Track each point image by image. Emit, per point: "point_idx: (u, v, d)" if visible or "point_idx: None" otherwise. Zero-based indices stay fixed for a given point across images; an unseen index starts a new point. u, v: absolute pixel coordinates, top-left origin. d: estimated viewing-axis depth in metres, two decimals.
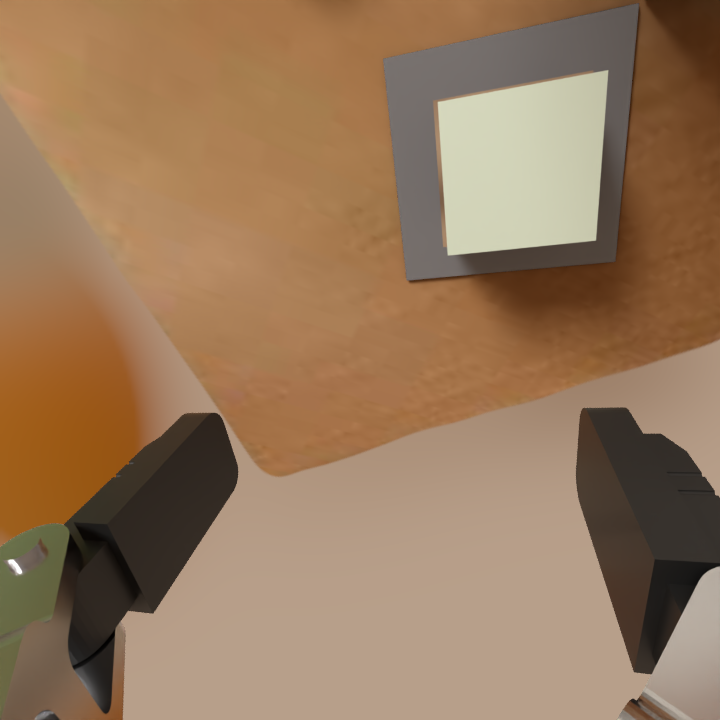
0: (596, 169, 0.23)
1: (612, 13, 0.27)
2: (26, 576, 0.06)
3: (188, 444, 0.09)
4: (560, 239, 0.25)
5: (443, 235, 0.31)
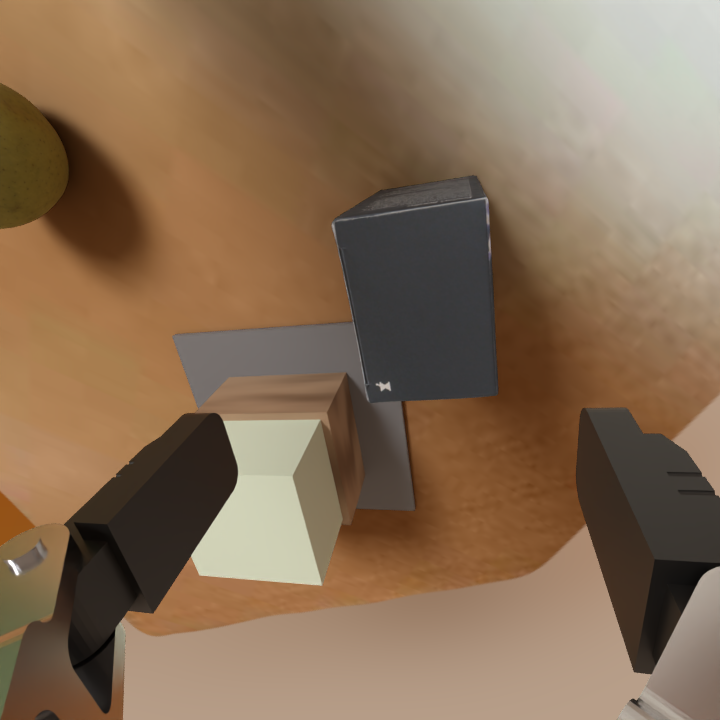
0: (305, 539, 0.24)
1: None
2: (26, 576, 0.06)
3: (188, 444, 0.09)
4: (291, 580, 0.26)
5: None
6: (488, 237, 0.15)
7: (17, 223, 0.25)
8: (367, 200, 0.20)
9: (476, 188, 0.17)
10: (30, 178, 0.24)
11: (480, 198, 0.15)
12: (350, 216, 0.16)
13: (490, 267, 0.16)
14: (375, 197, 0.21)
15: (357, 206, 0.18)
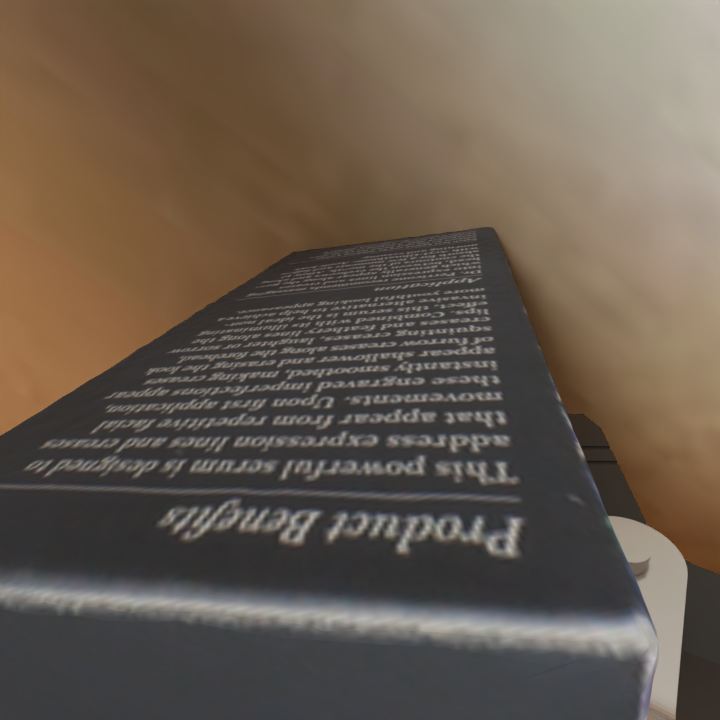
0: None
1: None
2: None
3: None
4: None
5: None
6: None
7: None
8: (205, 313, 0.07)
9: (515, 343, 0.04)
10: None
11: (597, 624, 0.02)
12: None
13: None
14: (239, 296, 0.08)
15: (120, 367, 0.06)
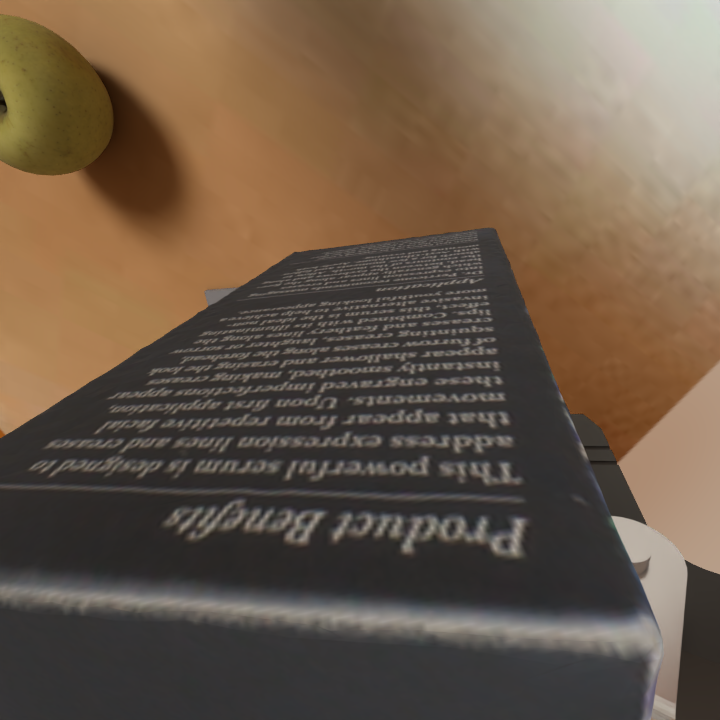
0: None
1: None
2: None
3: None
4: None
5: None
6: None
7: (66, 169, 0.26)
8: (206, 313, 0.08)
9: (518, 343, 0.04)
10: (82, 123, 0.25)
11: (602, 623, 0.02)
12: None
13: None
14: (241, 297, 0.08)
15: (123, 368, 0.06)
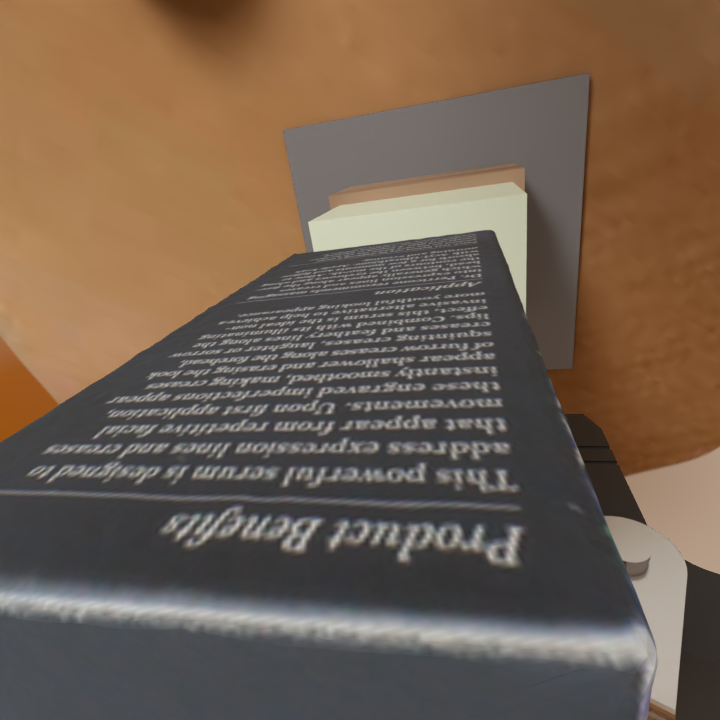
0: None
1: (557, 84, 0.22)
2: None
3: None
4: None
5: None
6: None
7: None
8: (206, 316, 0.08)
9: (516, 348, 0.04)
10: None
11: (596, 634, 0.02)
12: None
13: None
14: (240, 299, 0.08)
15: (121, 371, 0.06)
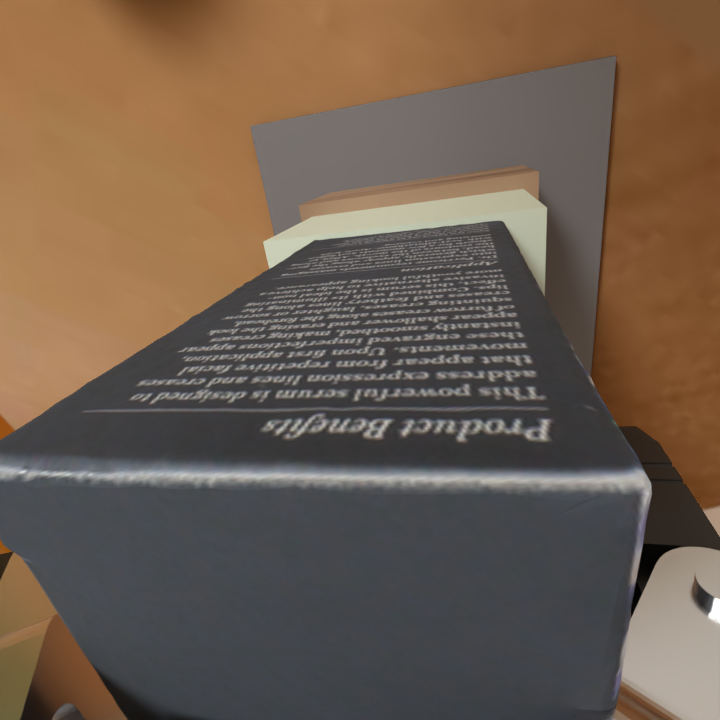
0: None
1: (576, 69, 0.18)
2: None
3: None
4: None
5: None
6: (625, 629, 0.03)
7: None
8: (245, 289, 0.08)
9: (534, 310, 0.05)
10: None
11: (608, 475, 0.03)
12: (34, 452, 0.04)
13: None
14: (274, 276, 0.09)
15: (182, 330, 0.06)
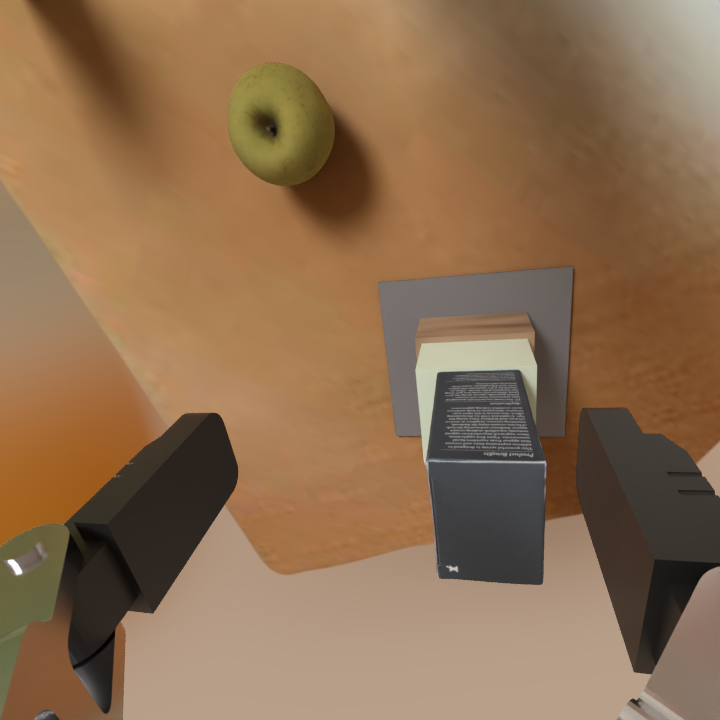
0: None
1: (553, 271, 0.36)
2: (26, 576, 0.06)
3: (188, 444, 0.09)
4: None
5: None
6: (544, 486, 0.21)
7: (302, 181, 0.33)
8: (439, 407, 0.26)
9: (531, 426, 0.23)
10: (327, 145, 0.31)
11: (540, 461, 0.20)
12: (440, 457, 0.21)
13: (544, 503, 0.21)
14: (443, 400, 0.27)
15: (436, 425, 0.24)
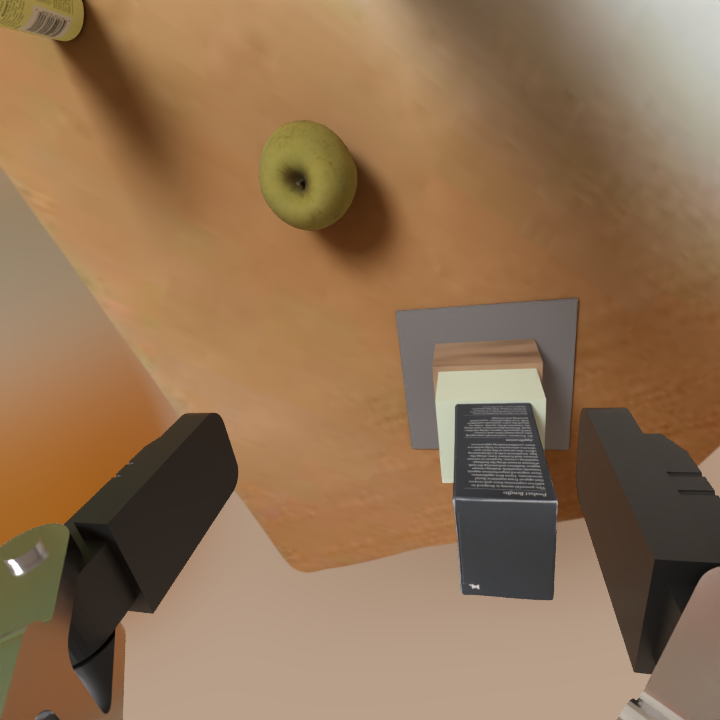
0: None
1: (560, 303, 0.39)
2: (26, 576, 0.06)
3: (188, 444, 0.09)
4: None
5: None
6: (556, 520, 0.24)
7: (327, 226, 0.36)
8: (460, 443, 0.29)
9: (543, 465, 0.26)
10: (351, 195, 0.34)
11: (553, 501, 0.23)
12: (465, 496, 0.25)
13: (555, 534, 0.24)
14: (463, 435, 0.30)
15: (459, 463, 0.27)
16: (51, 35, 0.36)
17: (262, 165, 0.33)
